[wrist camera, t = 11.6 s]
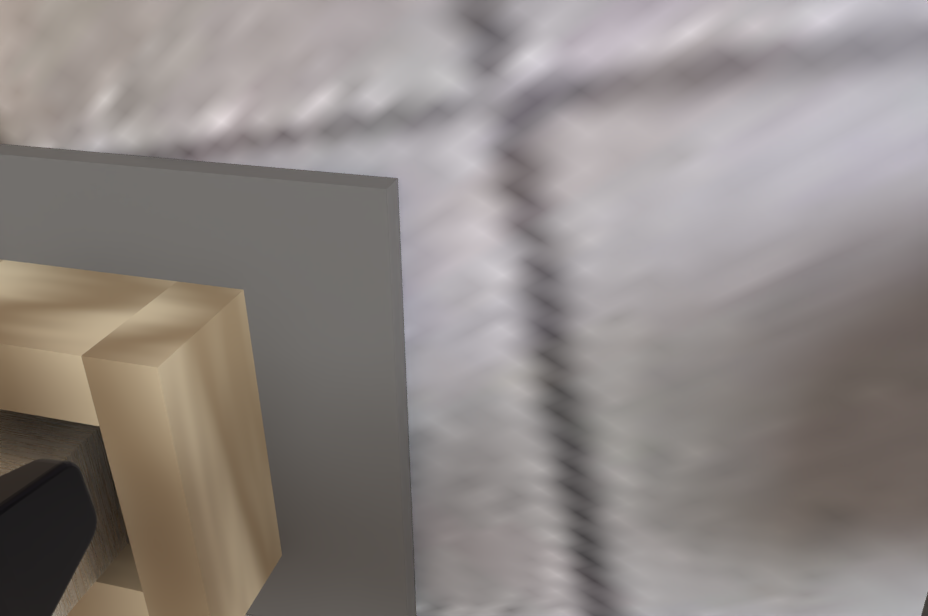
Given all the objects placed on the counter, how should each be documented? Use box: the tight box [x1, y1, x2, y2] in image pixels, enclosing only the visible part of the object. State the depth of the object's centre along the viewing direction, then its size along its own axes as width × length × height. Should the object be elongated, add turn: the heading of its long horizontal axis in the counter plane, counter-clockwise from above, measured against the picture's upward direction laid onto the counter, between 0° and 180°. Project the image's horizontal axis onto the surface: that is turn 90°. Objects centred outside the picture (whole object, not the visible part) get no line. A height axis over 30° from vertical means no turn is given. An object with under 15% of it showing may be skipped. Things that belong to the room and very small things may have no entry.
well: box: [0, 259, 282, 616], centre depth 23 cm, size 10×10×4 cm
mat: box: [0, 144, 416, 616], centre depth 25 cm, size 18×16×1 cm
